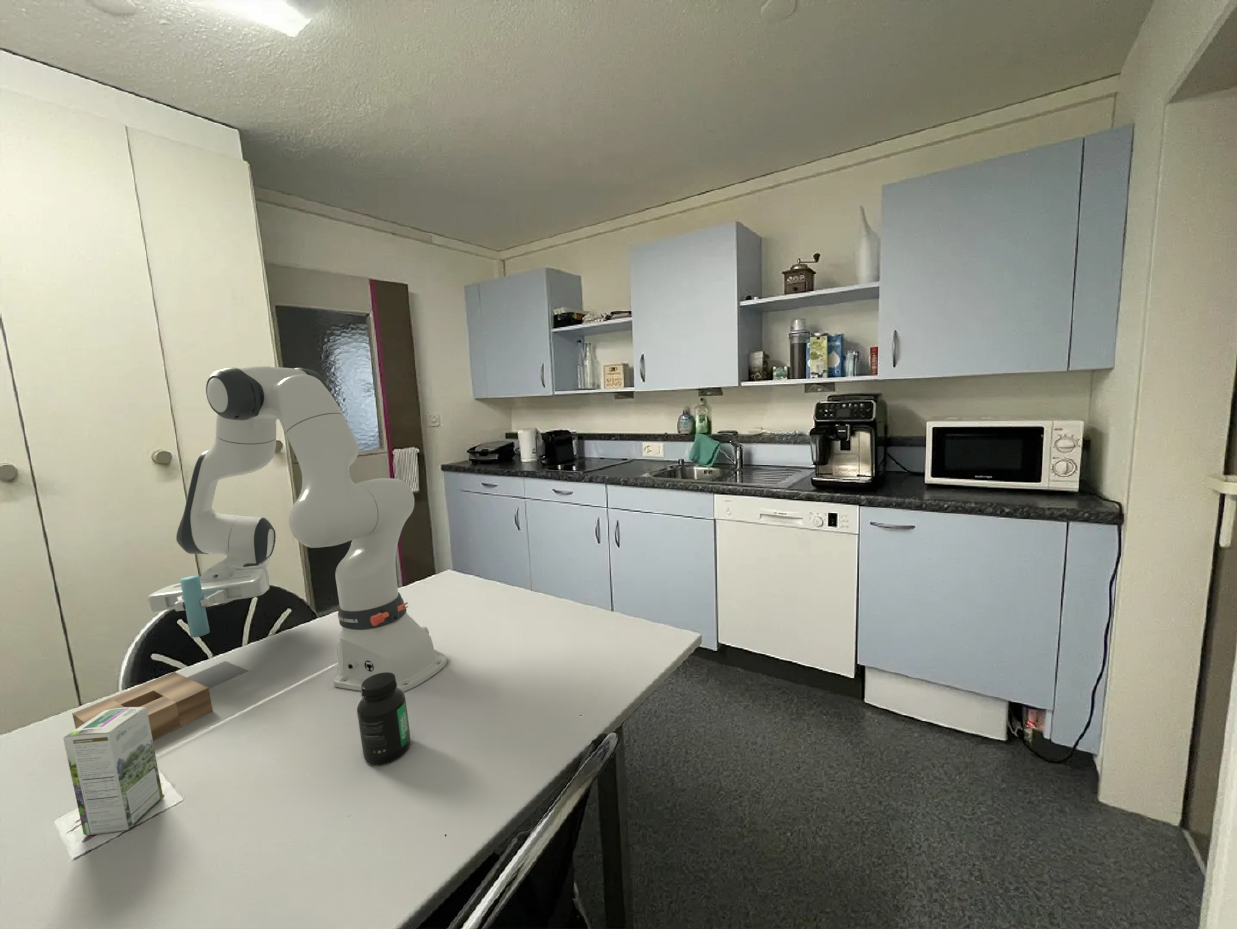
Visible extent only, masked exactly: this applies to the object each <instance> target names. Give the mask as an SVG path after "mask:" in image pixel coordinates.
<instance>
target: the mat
mask: <svg viewBox="0 0 1237 929" xmlns="http://www.w3.org/2000/svg"><path fill="white" fill-rule="evenodd" d="M248 671H250V670H248V669H246V668H244V667H241V666H238V665H236V664H233V663H231V662H229V661H226V660H224V661H222V662H220V663H217V664H215V665H213V666H210V667H209V668H205V669H203V670H201V671H198V672H196V673H193V674H192V675H189V676H186V677H187V678H189V679H191V680H193V681H195V682H197V683H199V684H201V685H203V686H205V687H208V689H212V688H215V687H216V686H218V685H221V684H222V683H225V682H227V681H229V680H231V679H234V678H236V677H238V676H240V675H243V674H244V673H247V672H248Z"/></svg>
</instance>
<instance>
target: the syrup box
mask: <svg viewBox="0 0 1237 929" xmlns="http://www.w3.org/2000/svg"><path fill="white" fill-rule="evenodd" d="M63 742H64V743H63V744H64V747H65V752H66V758H67V763H68V767H69V771H70V777H71V782H72V786H73V790H74V795H75V800H76V804H77V808H78V814H79V818H80V824H81V829H82V834H83V835H85V836H91V835H98V834H101V835H102V834H108V833H113V832H114V833H115V832H121V831H129V830H130V829H131V828H132V827H133V826H134V825H136V824H137V823H138V822H139V820H141V819H142V818H143V816H145V815H146V814H147V813H148V812H149V811H150V810H151V809H152V808H153V807H154V806H156V804H157V803H158V802H160V800H162V798H163V794H164V793H163V790H162V783H161V779H160V773H159V767H158V761H157V756H156V752H155V747H154V746H155V745H154V740H153V739H152V734H151V728H150V723H149V718H148V712H147V708H145V707H124V708H115V709H110V710H105V711H103V712H101V713H100V714H98V715H97V716H95V717H94V718H92V719H91V720H89V721H88V722H86V723H85V724H83V725H82V726H80V727H79V728H77V729H76V728H75V729H74V730H73V731H71V732H70V733H68V734H67V735H65V736H64V737H63Z"/></svg>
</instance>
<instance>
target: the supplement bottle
mask: <svg viewBox="0 0 1237 929" xmlns="http://www.w3.org/2000/svg"><path fill="white" fill-rule="evenodd" d="M361 690H362V691H361V698H362V699H361V700H360V701H359V702H358V705H357V708H356V714H357V720H358V728H359V735H360V743H361V747H362V755H363V759H364V761H365V762H366V763H367V764H369V765H372V766H383V765H388V764H390V763H392V762H395V761H397V760H398V759H400V758H401V757H403V755H405V753H407V752H408V750H409V748H410V746H411V742H412V740H411V731H410V723H409V716H408V708H407V700H406V699H407V698H406V694H405V691H404V692H403V691H402V690H401V689H399V688H397V683H396V678H395V675H394V674H393V673H389V672H384V673H379V674H375V675H373V676H370V677H369V678H367V679H366V680H365V681H363V683H362V685H361Z"/></svg>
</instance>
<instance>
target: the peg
mask: <svg viewBox="0 0 1237 929" xmlns="http://www.w3.org/2000/svg"><path fill="white" fill-rule="evenodd" d="M179 583H181V589H182V594H183V599H184V604H185V610H184V611H185V613H186V620H187V625H188V631H189V635H190V638H194V639H195V638H199V637H202V636H203V637H204V636H205V635H207V634H209V633H210V625H209V621H208V616H207V610H206V607H201V603H200V600H201V599H202V598H203V593H202V588H201V582H200V575H191V576H186V577H182V578H180V579H179Z"/></svg>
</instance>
